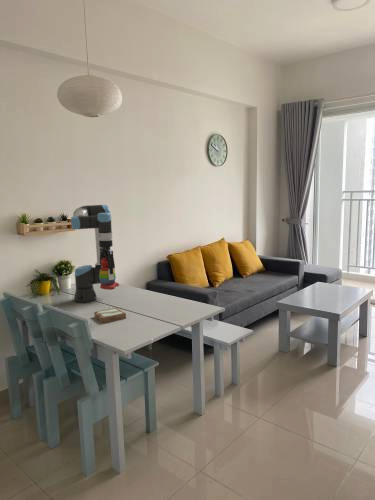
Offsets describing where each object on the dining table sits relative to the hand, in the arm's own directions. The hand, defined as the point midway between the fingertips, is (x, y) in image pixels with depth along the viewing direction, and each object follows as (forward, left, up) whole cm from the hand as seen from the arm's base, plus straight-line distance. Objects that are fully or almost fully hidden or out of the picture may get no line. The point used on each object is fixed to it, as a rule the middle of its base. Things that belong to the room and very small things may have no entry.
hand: (107, 277), depth 224 cm
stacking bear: (0, 0, -6) cm, 6 cm away
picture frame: (0, 0, -24) cm, 24 cm away
